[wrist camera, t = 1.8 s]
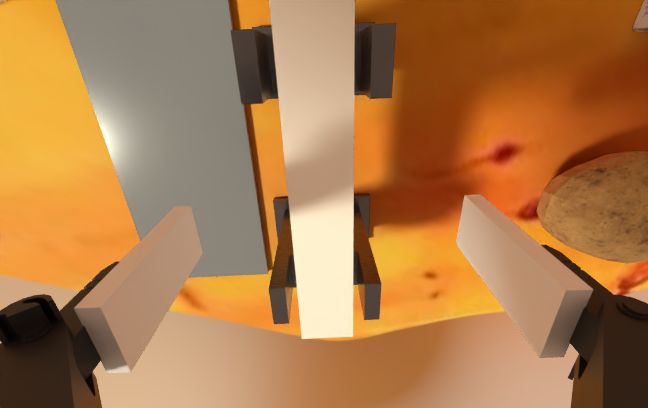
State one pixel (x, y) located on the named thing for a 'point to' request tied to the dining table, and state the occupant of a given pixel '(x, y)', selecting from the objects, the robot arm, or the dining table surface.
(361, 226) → the post
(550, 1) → the dining table surface
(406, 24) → the dining table surface
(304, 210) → the rail
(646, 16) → the coffee box
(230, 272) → the slate board
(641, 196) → the potato
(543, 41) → the dining table surface
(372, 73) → the post
